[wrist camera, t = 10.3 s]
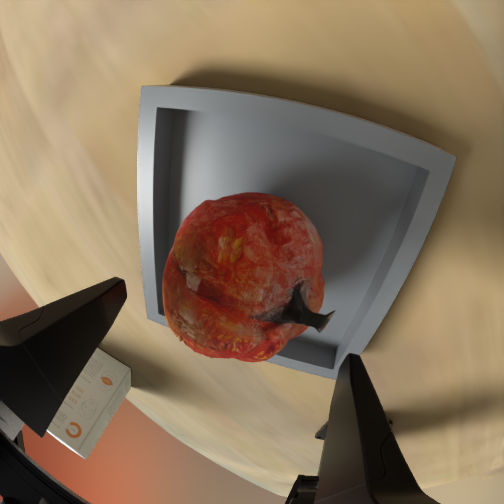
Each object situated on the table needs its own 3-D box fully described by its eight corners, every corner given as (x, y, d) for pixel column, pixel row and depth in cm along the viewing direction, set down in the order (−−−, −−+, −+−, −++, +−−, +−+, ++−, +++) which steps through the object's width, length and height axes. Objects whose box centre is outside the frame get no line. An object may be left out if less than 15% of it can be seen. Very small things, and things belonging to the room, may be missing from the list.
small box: (85, 357, 34) (36, 422, 23) (80, 333, 30) (20, 407, 19) (132, 388, 33) (86, 461, 23) (132, 368, 30) (77, 453, 19)
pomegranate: (239, 278, 20) (355, 363, 13) (138, 310, 16) (233, 446, 9) (244, 170, 17) (400, 221, 10) (121, 184, 13) (237, 276, 6)
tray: (343, 353, 19) (341, 381, 17) (163, 297, 21) (147, 318, 19) (438, 146, 11) (456, 157, 9) (168, 84, 13) (141, 86, 11)
